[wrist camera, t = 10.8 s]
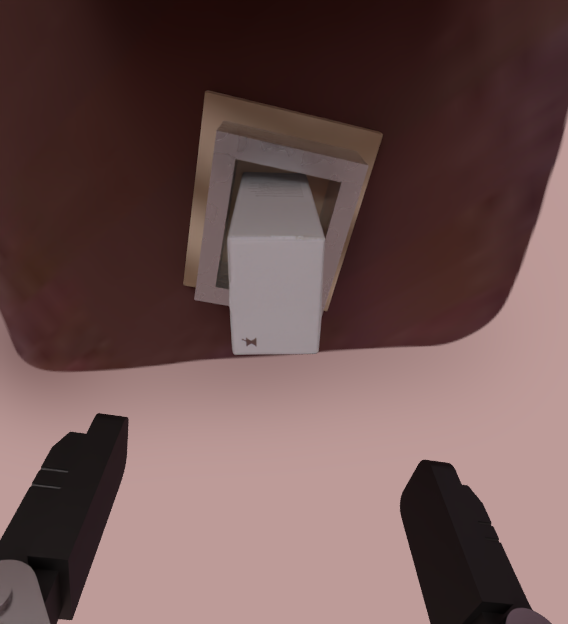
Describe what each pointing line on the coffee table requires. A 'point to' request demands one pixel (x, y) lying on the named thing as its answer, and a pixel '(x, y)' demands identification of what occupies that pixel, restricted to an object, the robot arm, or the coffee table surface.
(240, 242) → the skincare box
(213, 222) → the duct collar
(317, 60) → the coffee table surface
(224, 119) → the birch board
